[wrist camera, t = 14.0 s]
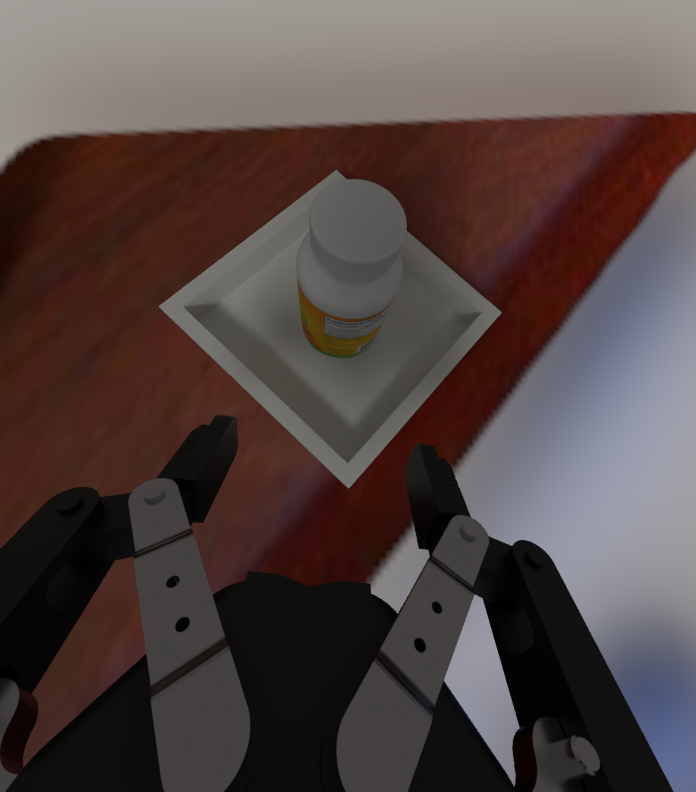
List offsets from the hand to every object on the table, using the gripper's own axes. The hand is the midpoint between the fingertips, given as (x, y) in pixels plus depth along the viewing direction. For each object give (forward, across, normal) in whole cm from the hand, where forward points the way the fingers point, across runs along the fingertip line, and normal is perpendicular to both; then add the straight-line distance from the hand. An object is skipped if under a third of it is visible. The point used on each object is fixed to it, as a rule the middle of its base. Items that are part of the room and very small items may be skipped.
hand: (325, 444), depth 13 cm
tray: (+12, 0, -1) cm, 12 cm away
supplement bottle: (+11, 0, -2) cm, 11 cm away
